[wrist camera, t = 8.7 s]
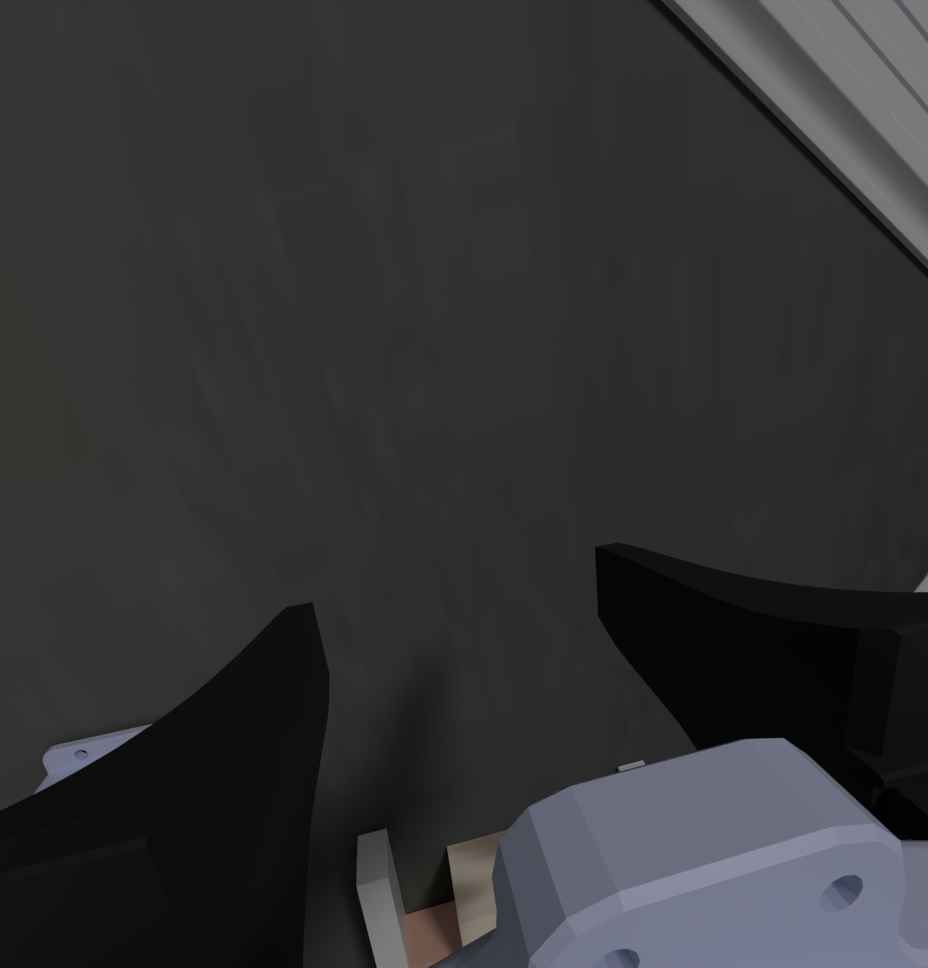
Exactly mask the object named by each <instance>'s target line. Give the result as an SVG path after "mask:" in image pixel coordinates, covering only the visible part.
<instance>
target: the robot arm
mask: <svg viewBox="0 0 928 968" xmlns="http://www.w3.org/2000/svg"><path fill="white" fill-rule="evenodd" d="M595 553H596V576H597V599H598V617H599V618H600V620H601V622H602V624H603V625H604V627H605V629H606V630H607V632H608V634H609V635H610V637H611V639H612V640H613V642H614V643H615V645H616V647H617V648H618V649H619V651H620V652H621V653H622V654H623V656H624V657H625V658H626V659H627V661H628V662H629V663H630V664H631V665H632V667H633V668H634V669H635V670H636V672H637V673H638V674H639V675H640V676H641V678H642V679H643V680H644V681H645V682H646V684H647V685H648V686H649V687H650V689H651V690H652V691H653V692H654V693H655V695H656V696H657V697H658V698H659V699H660V701H661V702H662V703H663V704H664V705H665V707H666V708H667V709H668V710H669V711H670V713H671V714H672V715H673V717H674V718H675V719H676V720H677V722H678V723H679V724H680V726H681V727H682V728H683V730H684V731H685V733H686V734H687V736H688V737H689V739H690V740H691V742H692V743H693V745H694V746H695V748H696V749H697V751H695V752H691V753H687V754H684V755H680V756H676V757H672V758H669V759H665V760H661V761H657V762H654V763H650V764H646V765H642V766H639V767H635V768H631V769H627V770H624V771H620V772H616V773H612V774H609V775H605V776H601V777H597V778H594V779H590V780H586V781H583V782H579V783H575V784H571V785H568V786H565V787H563V788H561V789H559V790H557V791H555V792H553V793H551V794H549V795H547V796H545V797H543V798H541V799H539V800H537V801H535V802H533V803H531V804H530V805H529V806H528V807H527V808H526V809H525V810H524V811H523V813H522V814H521V815H520V816H519V817H518V818H517V820H516V821H515V822H514V823H513V824H512V825H511V827H510V828H509V829H508V830H507V831H506V832H505V834H504V835H503V836H502V837H501V839H500V840H499V843H498V848H497V853H496V858H495V863H494V868H493V873H492V882H493V889H494V896H495V903H496V910H497V916H496V928H495V929H493V930H491V931H490V932H488V933H486V934H484V935H483V936H481V937H479V938H478V939H476V940H474V941H472V942H471V943H469V944H467V945H466V946H464V947H462V948H460V949H459V950H457V951H455V952H454V953H452V954H450V955H449V956H447V957H445V958H443V959H442V960H440V961H438V962H437V963H435V964H433V965H431V966H430V967H428V968H928V592H911V593H902V592H875V591H855V590H841V589H829V588H820V587H811V586H802V585H794V584H787V583H780V582H774V581H769V580H763V579H757V578H752V577H747V576H742V575H737V574H733V573H729V572H724V571H720V570H716V569H712V568H708V567H705V566H701V565H697V564H694V563H690V562H687V561H683V560H680V559H676V558H673V557H670V556H666V555H663V554H660V553H656V552H653V551H649V550H646V549H643V548H639V547H635V546H631V545H627V544H621V543H614V544H609V545H604V546H599V547H595ZM328 707H329V670H328V666H327V662H326V658H325V653H324V649H323V645H322V641H321V636H320V632H319V628H318V624H317V619H316V615H315V611H314V607H313V602H311V603H306V604H301V605H295V606H290V607H286V608H285V609H284V610H282V611H281V612H280V613H279V614H278V615H277V616H276V617H275V618H274V619H273V620H272V621H271V622H270V623H269V624H268V625H267V626H266V627H265V628H264V629H263V630H262V631H261V632H260V633H259V634H258V635H257V636H256V637H255V638H254V639H253V640H252V641H251V642H250V643H249V644H248V645H247V646H246V647H245V648H244V649H243V650H242V651H241V652H240V653H239V654H238V655H237V656H236V657H235V658H234V659H233V660H232V661H231V662H230V663H228V664H227V665H226V666H225V667H224V668H223V669H222V670H221V671H220V672H219V673H217V674H216V675H215V676H214V677H213V678H212V679H211V680H210V681H209V682H207V683H206V684H205V685H204V686H203V687H201V688H200V689H199V690H198V691H197V692H195V693H194V694H193V695H192V696H190V697H189V698H188V699H186V700H185V701H184V702H182V703H181V704H180V705H179V706H177V707H176V708H175V709H173V710H172V711H171V712H169V713H168V714H167V715H165V716H164V717H162V718H161V719H159V720H158V721H156V722H155V723H153V724H150V725H145V726H141V727H136V728H131V729H127V730H122V731H118V732H113V733H109V734H104V735H100V736H95V737H90V738H86V739H81V740H77V741H72V742H68V743H63V744H59V745H55V746H52V747H51V748H50V749H49V750H48V751H47V752H46V753H45V755H44V756H43V759H42V760H43V764H44V766H45V768H46V770H47V772H48V775H47V777H46V778H45V779H44V781H43V782H42V783H41V785H40V786H39V787H38V789H37V790H36V791H35V793H34V794H33V795H32V796H29V797H27V798H25V799H23V800H21V801H19V802H17V803H15V804H13V805H11V806H9V807H7V808H5V809H3V810H1V811H0V968H303V941H304V921H305V901H306V882H307V866H308V852H309V837H310V825H311V817H312V809H313V802H314V796H315V790H316V784H317V778H318V772H319V766H320V760H321V755H322V749H323V743H324V737H325V730H326V724H327V718H328ZM81 750H84V751H86V752H87V753H84V752H82V751H81Z"/></svg>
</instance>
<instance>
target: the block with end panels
mask: <svg viewBox="0 0 928 968" xmlns="http://www.w3.org/2000/svg"><path fill="white" fill-rule="evenodd" d="M642 765H645V763H644V762H643V760H642V761H638V762H634V763H630V764H627V765H623V766H619V767H618V772H620V771H624V770H627V769H631V768H635V767H639V766H642ZM356 887H357V891H358V895H359V899H360V903H361V907H362V911H363V915H364V919H365V923H366V927H367V930H368V934H369V938H370V942H371V946H372V950H373V954H374V958H375V962H376V966H377V968H428V967H430V966H431V965H433V964H435V963H437V962H438V961H440V960H442V959H443V958H445V957H447V956H449V955H450V954H452V953H454V952H455V951H457V950H459V949H460V948H462V947H463V945H462V940H461V934H460V928H459V922H458V916H457V909H456V903H455V900H454V901H450V902H447V903H444V904H440V905H437V906H433V907H430V908H427V909H423V910H420V911H416V912H413V913H410V914H406V915H405V910H404V906H403V901H402V897H401V892H400V888H399V883H398V878H397V874H396V869H395V865H394V860H393V856H392V851H391V846H390V842H389V837H388V833H387V828H386V829H382V830H378V831H375V832H371V833H367V834H363V835H359V836H358V842H357V880H356Z"/></svg>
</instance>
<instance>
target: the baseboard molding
mask: <svg viewBox="0 0 928 968" xmlns="http://www.w3.org/2000/svg"><path fill="white" fill-rule="evenodd" d="M661 1H662V2H663V3H664V4H665V5H666V6H667V7H668V8H669V9H670V10H671V11H672V12H673V13H674V14H675V15H676V16H677V17H678V18H679V19H680V20H681V21H682V22H683V23H684V24H685V25H686V26H687V27H688V28H689V29H690V30H691V31H692V32H693V33H694V34H695V35H696V36H697V37H698V38H699V39H700V40H701V41H702V42H703V43H704V44H705V45H706V46H707V47H708V48H709V49H710V50H711V51H712V52H713V53H714V54H715V55H716V56H717V57H718V58H719V59H720V60H721V61H722V62H723V63H724V64H725V65H726V66H727V67H728V68H729V69H730V70H731V71H732V72H733V73H734V74H735V75H736V76H737V77H738V78H739V79H740V80H741V81H742V82H743V83H744V84H745V85H746V86H747V87H748V88H749V89H750V90H751V91H752V92H753V93H754V94H755V95H756V96H757V97H758V98H759V99H760V100H761V101H762V102H763V103H764V104H765V105H766V106H767V107H768V108H769V109H770V110H771V111H772V112H773V113H774V114H775V115H776V116H777V117H778V118H779V119H780V120H781V122H782V123H783V124H784V125H785V126H786V127H787V128H788V129H789V130H790V131H791V132H792V133H793V134H794V135H795V136H796V137H797V138H798V139H799V140H800V141H801V142H802V143H803V144H804V145H805V146H806V147H807V148H808V149H809V150H810V151H811V152H812V153H813V154H814V155H815V156H816V157H817V158H818V159H819V160H820V161H821V162H822V163H823V164H824V165H825V166H826V167H827V168H828V169H829V170H830V171H831V172H832V173H833V174H834V175H835V176H836V177H837V178H838V179H839V180H840V181H841V182H842V183H843V184H844V185H845V186H846V187H847V188H848V189H849V190H850V191H851V192H852V193H853V194H854V195H855V196H856V197H857V198H858V199H859V200H860V201H861V202H862V203H863V204H864V205H865V206H866V207H867V208H868V209H869V210H870V211H871V212H872V213H873V214H874V215H875V216H876V217H877V218H878V219H879V220H880V221H881V222H882V223H883V224H884V225H885V226H886V227H887V228H888V229H889V230H890V231H891V232H892V233H893V234H894V235H895V236H896V237H897V238H898V239H899V240H900V241H901V242H902V243H903V244H904V245H905V246H906V247H907V248H908V249H909V250H910V251H911V252H912V253H913V254H914V256H915V257H916V258H917V259H918V260H919V261H920V262H921V263H922V264H923V265H924V266H925V267H926V268H927V269H928V0H661Z"/></svg>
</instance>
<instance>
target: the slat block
mask: <svg viewBox="0 0 928 968" xmlns="http://www.w3.org/2000/svg"><path fill="white" fill-rule="evenodd" d="M506 831H507V830H506ZM506 831H502V832H498V833H495V834H491V835H488V836H484V837H480V838H477V839H473V840H469V841H466V842H462V843H459V844H455V845H451V846H448V847H447V850H448V857H449V863H450V870H451V876H452V883H453V890H454V896H455V903H456V909H457V916H458V922H459V928H460V934H461V940H462V945H463V947H464V946H466V945H467V944H469V943H471V942H472V941H474V940H476V939H478V938H479V937H481V936H483V935H484V934H486V933H488V932H490V931H491V930H493V929H495V928H496V916H497V910H496V903H495V896H494V889H493V882H492V873H493V868H494V863H495V858H496V853H497V848H498V843H499V840H500V839H501V837H502V836H503V835H504V834H505V832H506Z"/></svg>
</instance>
